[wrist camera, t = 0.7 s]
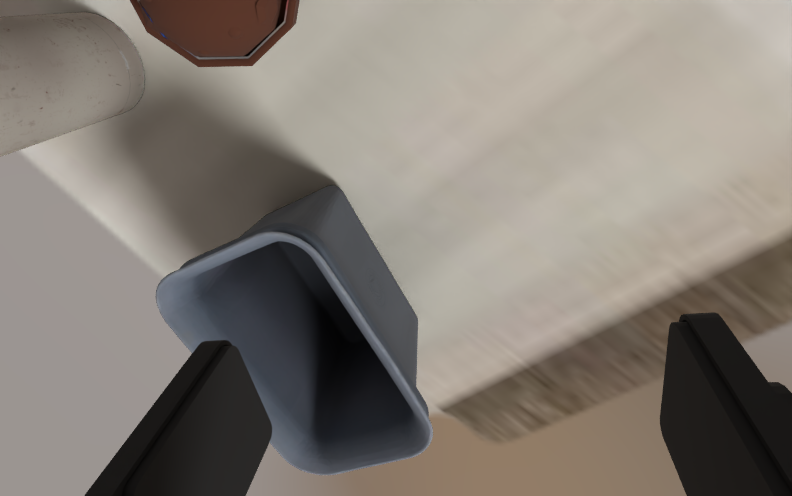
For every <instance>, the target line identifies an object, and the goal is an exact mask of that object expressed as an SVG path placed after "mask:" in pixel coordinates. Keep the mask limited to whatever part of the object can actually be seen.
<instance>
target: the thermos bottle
mask: <svg viewBox="0 0 792 496" xmlns="http://www.w3.org/2000/svg"><path fill="white" fill-rule="evenodd" d="M144 83H145V77H144V69H143V65H142V61H141V58H140V56H139V54H138V52H137V49H136V48H135V46H134V45H133V43H132V41H131V40H130V39H129V38H128V36H127V35H126V34H125V33H124V32H123V31H122V30H121V29H120V28H119V27H118V26H116V25H115V24H114V23H112V22H111V21H109V20H107V19H106V18H104V17H101V16H99V15H97V14H92V13H87V12H79V13H60V14H43V15H26V16H9V17H0V157H1V156H4V155H7V154H10V153H12V152H15V151H18V150H21V149H24V148H26V147H29V146H32V145H35V144H38V143H40V142H43V141H46V140H49V139H52V138H54V137H57V136H60V135H63V134H66V133H68V132H71V131H74V130H77V129H80V128H82V127H85V126H88V125H91V124H94V123H96V122H99V121H102V120H105V119H108V118H111V117H113V116H116V115H119V114H122V113H124V112H126V111H128V110H130V109H132V108H133V107H134V106H135V105H136V104H137V103H138V101H139V100H140V98H141V96H142V93H143V90H144Z"/></svg>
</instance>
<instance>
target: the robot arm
mask: <svg viewBox="0 0 792 496" xmlns="http://www.w3.org/2000/svg"><path fill="white" fill-rule="evenodd" d="M660 426H661V431H662V435H663V438H664V441H665V443H666V446H667V448H668V450H669V453H670V455H671V458H672V460H673V463H674V465H675V468H676V470H677V472H678V475H679V478H680V480H681V482H682V485H683V487H684V490H685V492H686V494H687V496H792V393H791V392H790V391H789V390H788V389H787V388H786V387H785V386H784V385H782V384H780V383H778V382H768V381H767V380H766V379H765V377H764V376H763V375H762V373H761V372H760V370H759V369H758V368H757V366H756V365H755V363H754V362H753V361H752V359H751V358H750V356H749V355H748V354H747V352H746V351H745V350H744V348H743V347H742V345H741V344H740V343H739V341H738V340H737V338H736V337H735V336H734V334H733V333H732V331H731V330H730V329H729V327H728V326H727V325H726V323H725V322H724V320H723V319H722V318H721V316H720V315H719V314H717V313H697V314H683V315H681V317H680V319H679V322H673V323H671V324H670V327H669V336H668V345H667V355H666V365H665V374H664V384H663V395H662V403H661V414H660ZM271 436H272V424H271V421H270V419H269V417H268V414H267V412H266V410H265V408H264V405H263V403H262V401H261V399H260V396H259V394H258V392H257V390H256V388H255V385H254V383H253V381H252V379H251V376H250V374H249V372H248V370H247V367H246V365H245V363H244V361H243V358H242V356H241V354H240V352H239V350H238V348H237V347H236V346H233V345H232V344H231V342H229V341H228V340H214V341H204V342H201V343H200V344H199V345H198V347H197V348H196V349H195V351H194V352H193V353H192V355H191V356H190V357H189V358H188V360H187V361H186V363H185V364H184V365H183V367H182V368H181V369H180V370H179V372H178V373H177V374H176V376H175V377H174V378H173V380H172V381H171V382H170V384H169V385H168V386H167V388H166V389H165V390H164V392H163V393H162V394H161V395H160V397H159V398H158V399H157V401H156V402H155V403H154V405H153V406H152V407H151V409H150V410H149V411H148V413H147V414H146V415H145V416H144V418H143V419H142V421H141V422H140V423H139V424H138V426H137V427H136V428H135V430H134V431H133V432H132V434H131V435H130V436H129V438H128V439H127V440H126V442H125V443H124V444H123V445H122V447H121V448H120V449H119V451H118V452H117V453H116V455H115V456H114V457H113V459H112V460H111V461H110V463H109V464H108V465H107V467H106V468H105V469H104V471H103V472H102V473H101V474H100V476H99V477H98V478H97V480H96V481H95V482H94V484H93V485H92V486H91V488H90V489H89V490H88V492H87V493H86V494H85V496H245V495H246V493H247V491H248V489H249V487H250V484H251V482H252V480H253V478H254V475H255V473H256V471H257V469H258V467H259V464H260V462H261V460H262V457H263V455H264V453H265V451H266V449H267V446H268V444H269V442H270V439H271Z"/></svg>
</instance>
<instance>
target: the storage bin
mask: <svg viewBox="0 0 792 496" xmlns="http://www.w3.org/2000/svg"><path fill="white" fill-rule="evenodd" d="M156 302H157V306H158V308H159V311H160V313H161V315H162V317H163V318H164V320H165V322H166V323H167V324H168V325H169V326H170V328H171V329H172V330H173V331H174V333H175V334H176V335H177V336H178V337H179V339H180V340H181V341H182V342H183V343H184V345H185V346H186V347H187V348H188V349H189V350H190V351H191V352H192V353H193V352H194V351H195V349H196V348H197V347H198V345H199V344H200V343H201V342H204V341H214V340H228V341H229V342H231V344H232V345H233V346H236V347H237V348H238V350H239V352H240V354H241V356H242V358H243V361H244V363H245V365H246V367H247V370H248V372H249V374H250V376H251V379H252V381H253V383H254V385H255V388H256V390H257V392H258V394H259V396H260V399H261V401H262V403H263V405H264V408H265V410H266V412H267V414H268V417H269V419H270V421H271V424H272V436H271V439H270V444H271V445H272V446H273V447H274V448H275V449H276V450H277V452H278V453H279V454H280V455H281V456H282V457H283V458H284V459H285V460H286V461H287V462H288V463H289V464H291V465H292V466H294V467H296V468H298V469H299V470H302V471H304V472H307V473H313V474H317V475H336V474H340V473H344V472H348V471H353V470H357V469H362V468H367V467H371V466H376V465H381V464H385V463H390V462H394V461H398V460H403V459H407V458H412V457H415V456H417V455H419V454H420V453H422V452H423V451H424V450H425V449H426V448H427V447H428V446H429V444H430V443H431V440H432V436H433V428H432V425H431V422H430V420H429V418H428V416H429V412H428V407H427V405H426V402H425V401H424V399H423V397H422V396H421V394H420V393H419V391H418V389H417V388H416V372H417V335H418V318H417V316H416V314H415V312H414V311H413V309H412V308H411V306H410V304H409V303H408V301H407V299H406V298H405V296H404V294H403V293H402V291H401V289H400V287H399V286H398V284H397V282H396V281H395V279H394V277H393V276H392V274H391V272H390V271H389V269H388V267H387V265H386V264H385V262H384V260H383V259H382V257H381V255H380V254H379V252H378V250H377V249H376V247H375V245H374V244H373V242H372V240H371V239H370V237H369V235H368V234H367V232H366V230H365V229H364V227H363V225H362V224H361V222H360V220H359V219H358V217H357V215H356V213H355V212H354V210H353V208H352V207H351V205H350V203H349V201H348V200H347V198H346V196H345V194H344V193H343V191H342V190H341V189H340V188H339V187H337V186H334V185H330V186H327V187H325V188H323V189H321V190H319V191H316V192H314V193H312V194H310V195H308V196H306V197H304V198H302V199H300V200H298V201H295V202H293V203H291V204H289V205H287V206H285V207H283V208H280V209H278V210H276V211H274V212H272V213H269V214H267V215H266V216H264V217H263V218H262V219H261V220H260V221H258V222H257V223H256V224H255V225H254V226H253V227H251V228H250V229H249V230H248V231H247V232H245V233H244V234H243V235H242V236H241V237H239V238H238V239H236V240H233V241H231V242H229V243H227V244H224V245H222V246H220V247H218V248H215V249H213V250H211V251H208V252H206V253H204V254H202V255H200V256H197V257H195V258H193V259H191V260H189V261H187V262H186V263H185V264H183V265H182V266H181V268H180V269H179V270H177V271H174V272H172V273H170V274H169V275H167V276H166V277H164V278H163V279H162V280H161V282H160V283H159V285H158V287H157V290H156Z"/></svg>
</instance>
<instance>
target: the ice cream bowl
mask: <svg viewBox="0 0 792 496" xmlns="http://www.w3.org/2000/svg"><path fill="white" fill-rule="evenodd" d="M130 1H131V3H132V5H133V7H134V9H135V10H136V12H137V14H138V16H139V18H140V20H141V22H142V23H143V25H144V27H145V29H146V31H147V32H148V33H150V34H151V35H152V36H154V37H155V38H157V39H158V40H160V41H161V42H163V43H164V44H166V45H167V46H169V47H170V48H171V49H173V50H174V51H176V52H177V53H179V54H180V55H182V56H183V57H185V58H186V59H188V60H189V61H190V62H192V63H193V64H195V65H196V66H198V67H222V66H253V65H254V64H255V63H256V62H257V61H258V60H259V59H260V58H261V57H262V56H263V55H264V54H265V53H266V52H267V51H268V50H269V49H270V48H271V47H272V46H273V45H274V44H275V43H276V42H277V41H278V40H279V39H281V38H282V37H283V36H284V35H285V34H286V33H287V32H288V31H289V30H290V29H291V28H292V27H293V26H294V24H295V23H296V19H297V13H298V6H299V0H130Z"/></svg>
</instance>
